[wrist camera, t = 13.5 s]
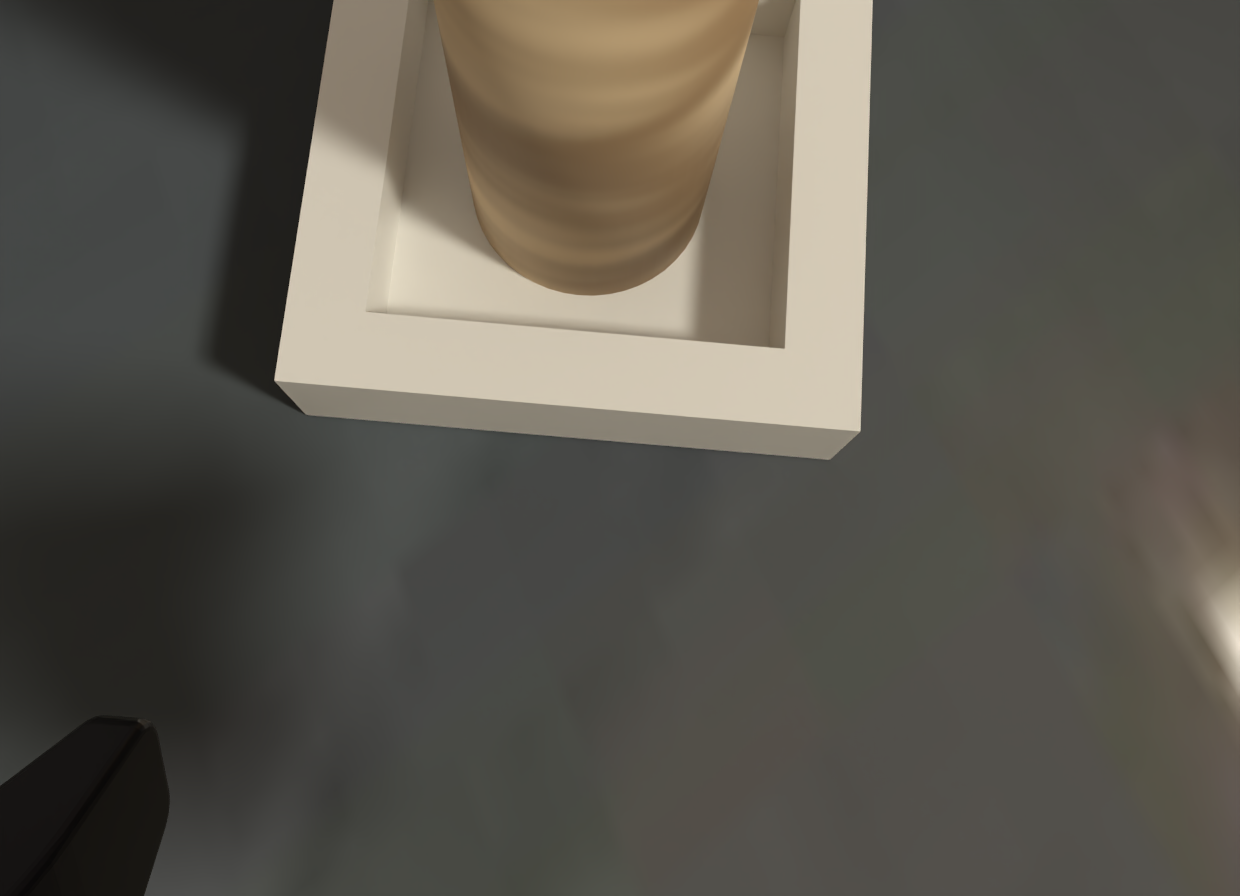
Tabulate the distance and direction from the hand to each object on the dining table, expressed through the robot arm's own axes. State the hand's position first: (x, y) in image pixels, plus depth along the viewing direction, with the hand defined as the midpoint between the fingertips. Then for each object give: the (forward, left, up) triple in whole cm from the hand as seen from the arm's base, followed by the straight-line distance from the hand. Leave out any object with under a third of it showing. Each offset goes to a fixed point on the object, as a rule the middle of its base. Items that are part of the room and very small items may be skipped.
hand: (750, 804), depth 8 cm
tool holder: (+10, +6, -14) cm, 18 cm away
